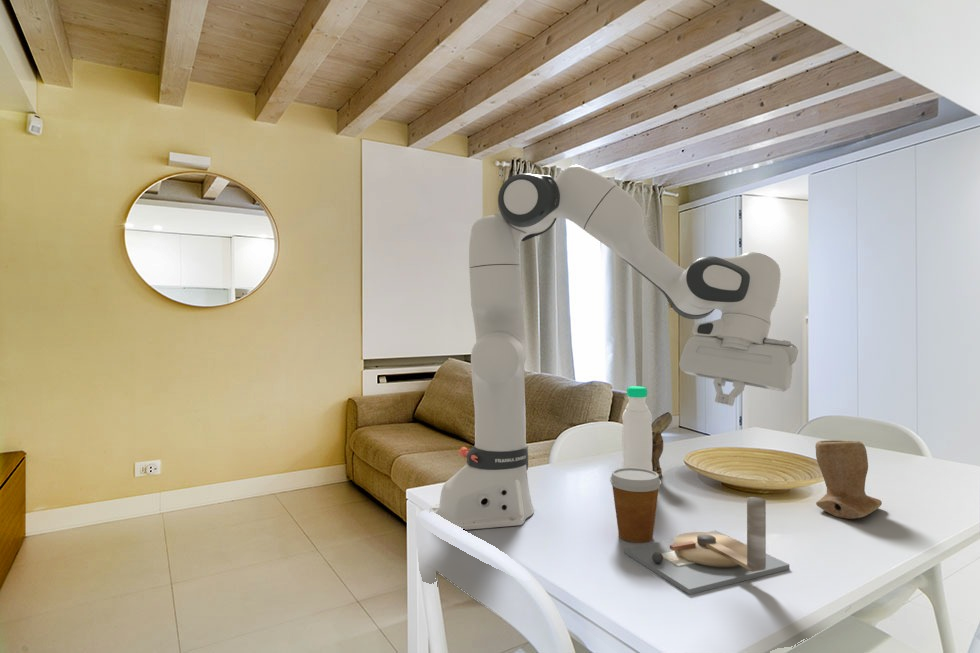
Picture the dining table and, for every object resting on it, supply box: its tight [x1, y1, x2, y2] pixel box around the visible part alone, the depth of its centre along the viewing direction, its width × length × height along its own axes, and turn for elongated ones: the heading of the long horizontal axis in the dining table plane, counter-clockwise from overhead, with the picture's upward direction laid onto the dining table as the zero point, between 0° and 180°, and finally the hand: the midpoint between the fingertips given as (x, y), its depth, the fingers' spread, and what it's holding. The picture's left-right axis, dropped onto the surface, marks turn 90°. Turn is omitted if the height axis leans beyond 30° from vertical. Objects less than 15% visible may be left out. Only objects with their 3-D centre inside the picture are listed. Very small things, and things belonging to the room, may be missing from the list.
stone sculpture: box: [651, 411, 673, 478], centre depth 145 cm, size 9×14×18 cm, turn 27°
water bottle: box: [621, 385, 653, 471], centre depth 133 cm, size 7×7×25 cm
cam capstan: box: [670, 496, 767, 572], centre depth 92 cm, size 17×13×12 cm
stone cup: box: [815, 439, 883, 520], centre depth 119 cm, size 15×12×15 cm
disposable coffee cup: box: [609, 467, 662, 543], centre depth 105 cm, size 10×10×12 cm
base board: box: [624, 529, 790, 595], centre depth 94 cm, size 21×16×3 cm
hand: (723, 403), depth 105 cm, fingers closed
